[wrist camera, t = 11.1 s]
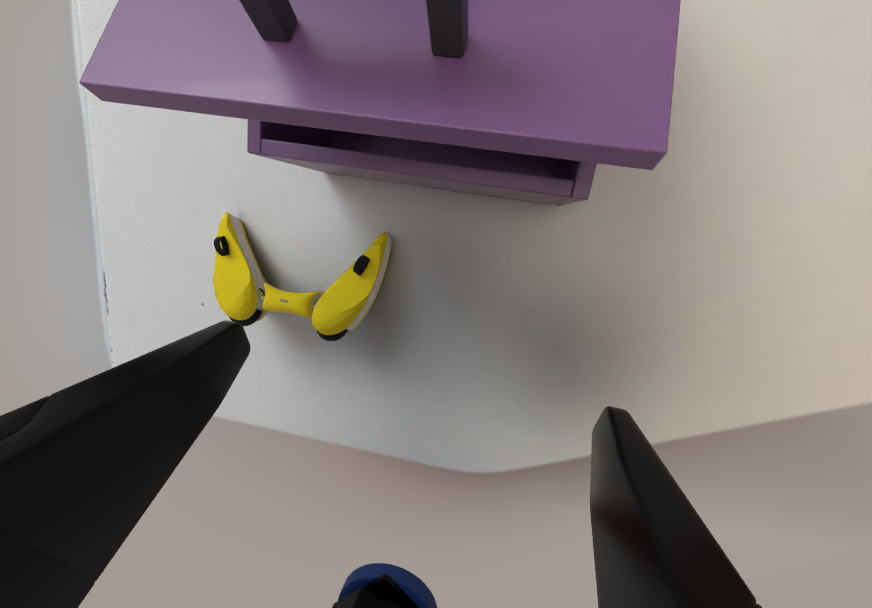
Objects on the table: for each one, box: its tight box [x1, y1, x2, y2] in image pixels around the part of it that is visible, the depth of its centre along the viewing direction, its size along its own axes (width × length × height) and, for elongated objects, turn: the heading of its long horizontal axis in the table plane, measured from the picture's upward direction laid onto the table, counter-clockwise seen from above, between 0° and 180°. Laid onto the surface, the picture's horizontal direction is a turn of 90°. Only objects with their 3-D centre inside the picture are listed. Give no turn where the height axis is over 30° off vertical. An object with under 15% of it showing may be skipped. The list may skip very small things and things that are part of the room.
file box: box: [247, 119, 597, 206], centre depth 15 cm, size 11×13×7 cm
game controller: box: [213, 212, 392, 341], centre depth 21 cm, size 10×6×4 cm, turn 84°
